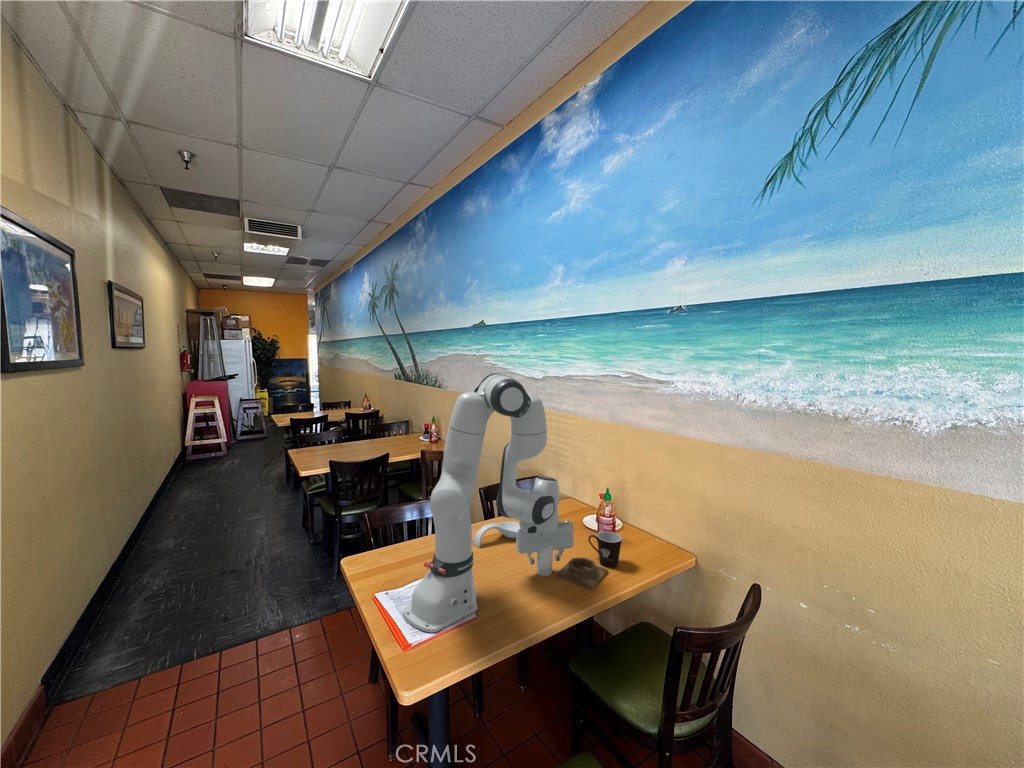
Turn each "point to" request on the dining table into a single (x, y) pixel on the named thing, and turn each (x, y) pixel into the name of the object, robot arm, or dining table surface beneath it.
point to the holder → (582, 572)
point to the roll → (545, 561)
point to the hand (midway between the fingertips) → (544, 561)
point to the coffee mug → (608, 548)
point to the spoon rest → (504, 527)
